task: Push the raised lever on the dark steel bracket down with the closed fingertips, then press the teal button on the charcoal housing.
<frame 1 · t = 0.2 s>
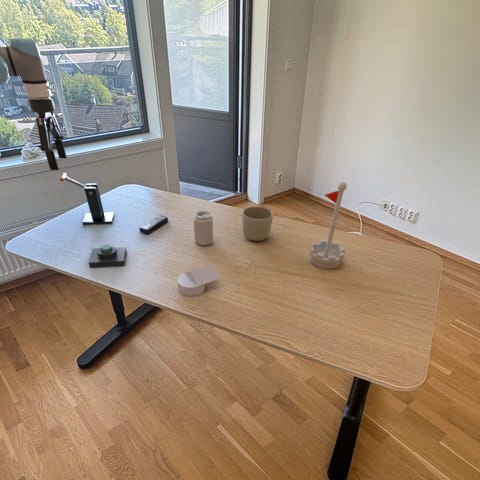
hand: (59, 163, 130), 25 cm above the table, tool pointing down, fingers open, 13 cm apart
flag stand: (324, 261, 133), on the table
can: (203, 242, 140), on the table
multiport hub: (154, 227, 149), on the table
button: (106, 249, 125), point 4 cm above the table, slide at 0.1 cm
wedge on round base: (196, 286, 118), on the table
bracket: (99, 219, 152), on the table
lever: (78, 184, 141), point 16 cm above the table, hinge at 30.0°
button box: (109, 259, 128), on the table
planter: (255, 237, 145), on the table
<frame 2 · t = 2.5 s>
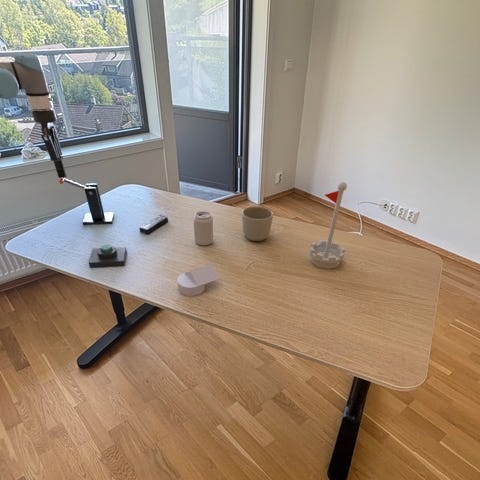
hand: (62, 176, 138), 19 cm above the table, tool pointing down, fingers closed
lever: (78, 185, 141), point 15 cm above the table, hinge at 24.7°, touching gripper
everything else where it was.
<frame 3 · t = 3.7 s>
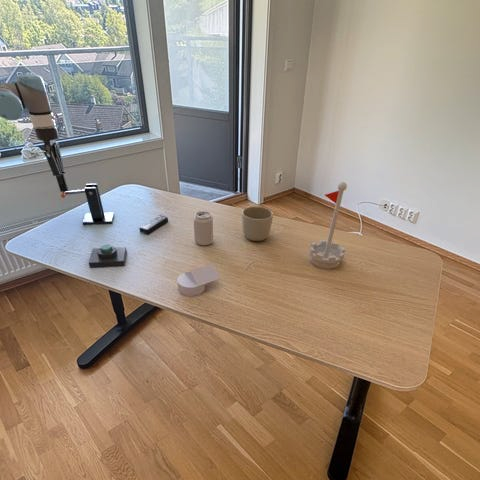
hand: (64, 190, 141), 13 cm above the table, tool pointing down, fingers closed
lever: (79, 191, 142), point 13 cm above the table, hinge at -5.3°, touching gripper
everything else where it was.
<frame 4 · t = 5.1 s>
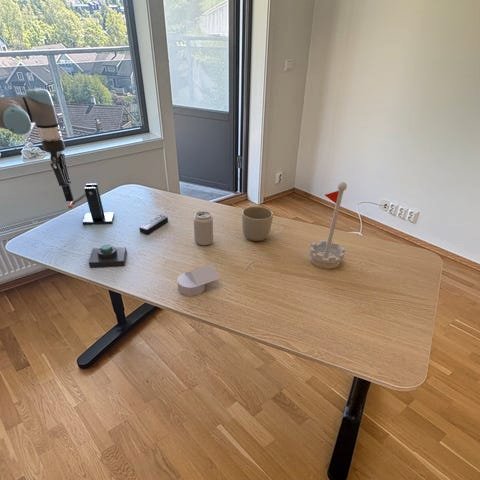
hand: (69, 200, 144), 9 cm above the table, tool pointing down, fingers closed
lever: (82, 196, 144), point 10 cm above the table, hinge at -30.8°, touching gripper
everything else where it was.
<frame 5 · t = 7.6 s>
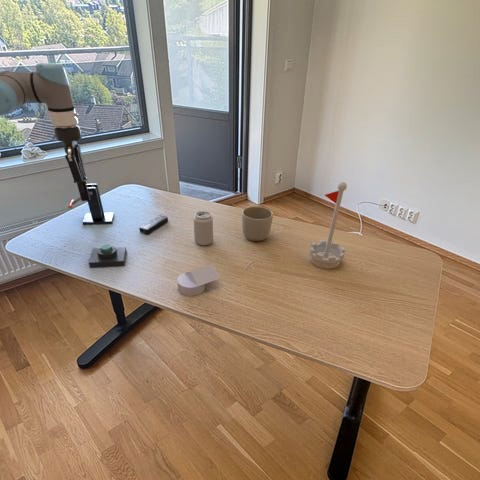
hand: (86, 199, 122), 18 cm above the table, tool pointing down, fingers closed
lever: (82, 196, 144), point 10 cm above the table, hinge at -30.8°
everything else where it was.
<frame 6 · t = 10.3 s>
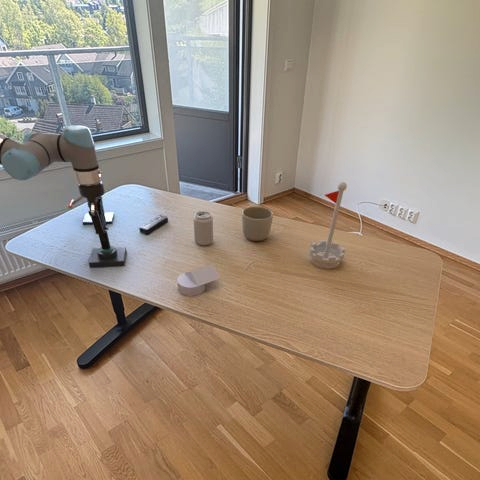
hand: (106, 248, 125), 5 cm above the table, tool pointing down, fingers closed
button: (106, 250, 125), point 4 cm above the table, slide at -0.7 cm, touching gripper
everything else where it was.
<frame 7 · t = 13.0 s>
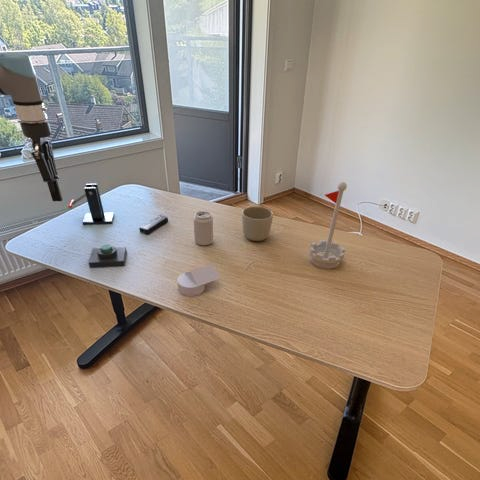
hand: (57, 200, 115), 21 cm above the table, tool pointing down, fingers closed
button: (106, 249, 125), point 4 cm above the table, slide at 0.1 cm
everything else where it was.
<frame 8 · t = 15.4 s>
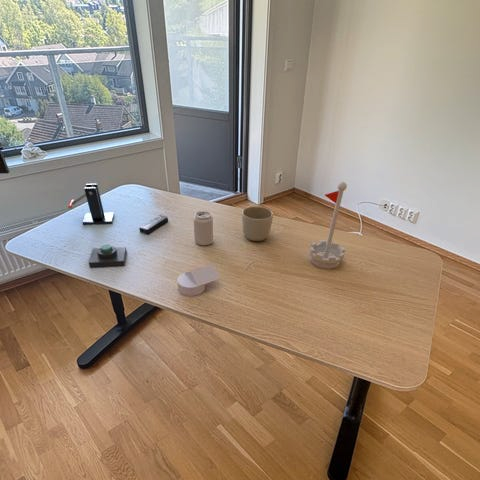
hand: (4, 172, 112), 28 cm above the table, tool pointing down, fingers closed
nothing on the table moved.
at the end: lever at -31° (first picture: +30°); button pushed in 1.0 cm at the most during the clip, back to where it started at the end; button slide at 0.1 cm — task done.
